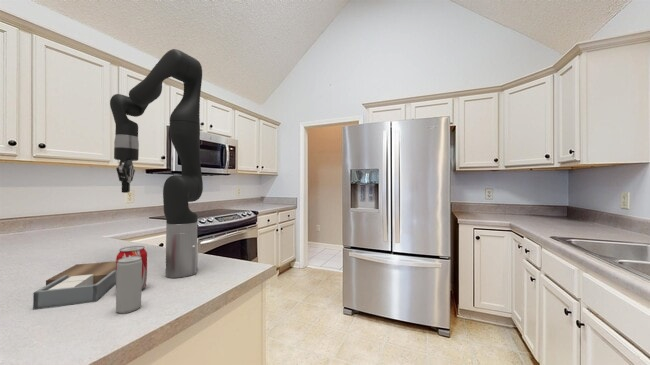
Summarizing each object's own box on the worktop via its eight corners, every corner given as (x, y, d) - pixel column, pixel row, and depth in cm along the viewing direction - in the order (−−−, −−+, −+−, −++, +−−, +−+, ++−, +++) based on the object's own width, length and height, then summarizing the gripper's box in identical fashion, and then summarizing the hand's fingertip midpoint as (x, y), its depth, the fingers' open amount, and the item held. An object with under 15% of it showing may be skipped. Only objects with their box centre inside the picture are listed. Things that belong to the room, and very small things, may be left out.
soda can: (112, 298, 67) (113, 252, 68) (118, 288, 74) (119, 246, 74) (144, 293, 71) (145, 249, 71) (148, 284, 77) (149, 244, 77)
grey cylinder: (125, 304, 63) (126, 256, 64) (145, 304, 64) (146, 256, 64) (110, 314, 59) (111, 262, 59) (132, 313, 59) (133, 261, 59)
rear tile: (93, 284, 75) (93, 274, 75) (84, 291, 70) (84, 280, 70) (71, 286, 73) (71, 276, 73) (60, 293, 69) (61, 282, 69)
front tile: (83, 291, 70) (84, 280, 70) (73, 299, 65) (73, 287, 65) (60, 294, 68) (60, 282, 68) (47, 302, 64) (47, 289, 64)
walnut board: (133, 268, 92) (133, 259, 92) (116, 283, 77) (116, 273, 77) (76, 273, 86) (76, 264, 86) (45, 291, 71) (45, 280, 71)
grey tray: (116, 283, 77) (116, 270, 77) (96, 301, 65) (96, 285, 65) (64, 289, 73) (64, 275, 73) (33, 309, 61) (33, 292, 61)
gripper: (133, 146, 95) (132, 193, 94) (143, 150, 107) (142, 192, 107) (107, 144, 92) (106, 193, 91) (120, 149, 104) (119, 192, 104)
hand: (125, 192), depth 99 cm, fingers closed
